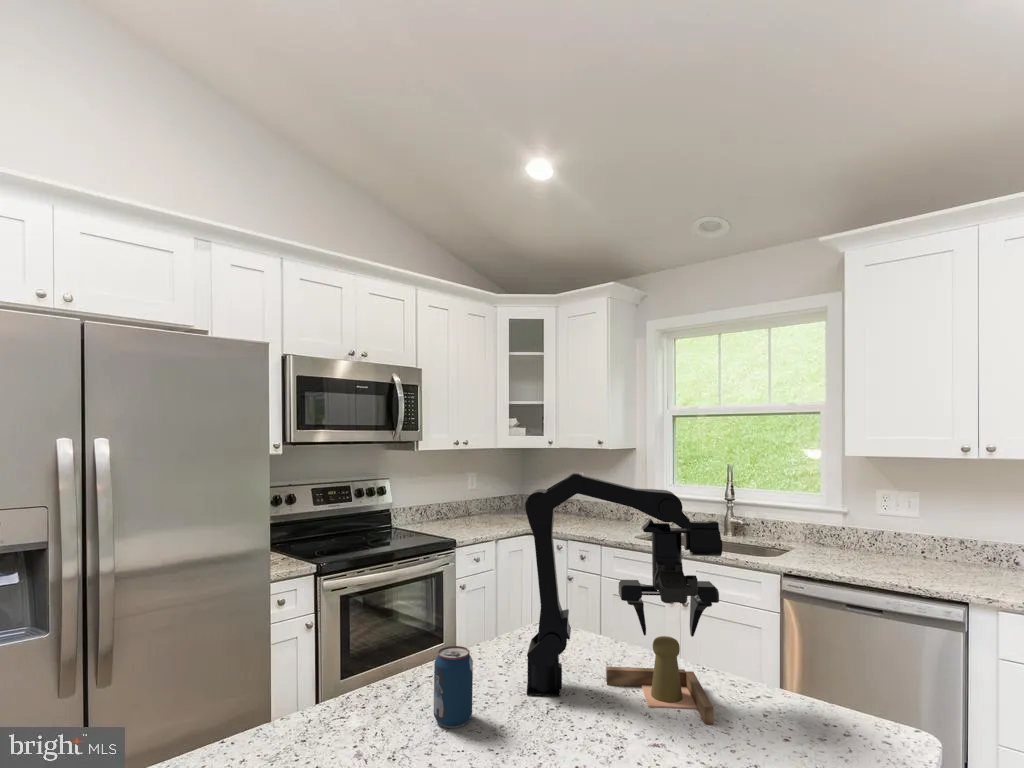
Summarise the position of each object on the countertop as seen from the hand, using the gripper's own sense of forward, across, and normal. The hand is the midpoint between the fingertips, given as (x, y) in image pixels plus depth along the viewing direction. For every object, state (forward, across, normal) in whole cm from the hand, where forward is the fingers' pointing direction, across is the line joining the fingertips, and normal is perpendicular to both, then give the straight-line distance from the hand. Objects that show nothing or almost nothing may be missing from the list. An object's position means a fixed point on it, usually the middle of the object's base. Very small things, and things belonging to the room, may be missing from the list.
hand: (668, 635), depth 118 cm
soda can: (+12, -41, -12) cm, 44 cm away
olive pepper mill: (+12, 0, 0) cm, 12 cm away
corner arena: (+12, -4, -2) cm, 12 cm away
